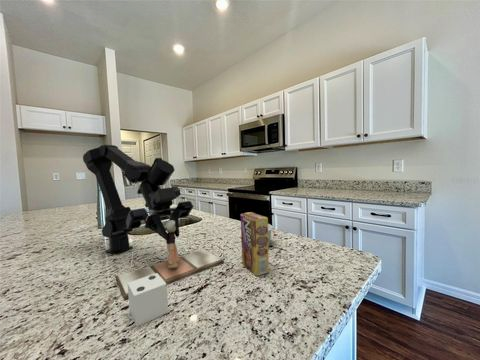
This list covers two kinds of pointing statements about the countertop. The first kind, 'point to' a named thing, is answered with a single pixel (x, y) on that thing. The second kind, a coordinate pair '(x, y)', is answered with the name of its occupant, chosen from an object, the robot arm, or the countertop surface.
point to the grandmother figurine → (171, 244)
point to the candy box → (255, 243)
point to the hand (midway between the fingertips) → (172, 237)
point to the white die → (147, 298)
